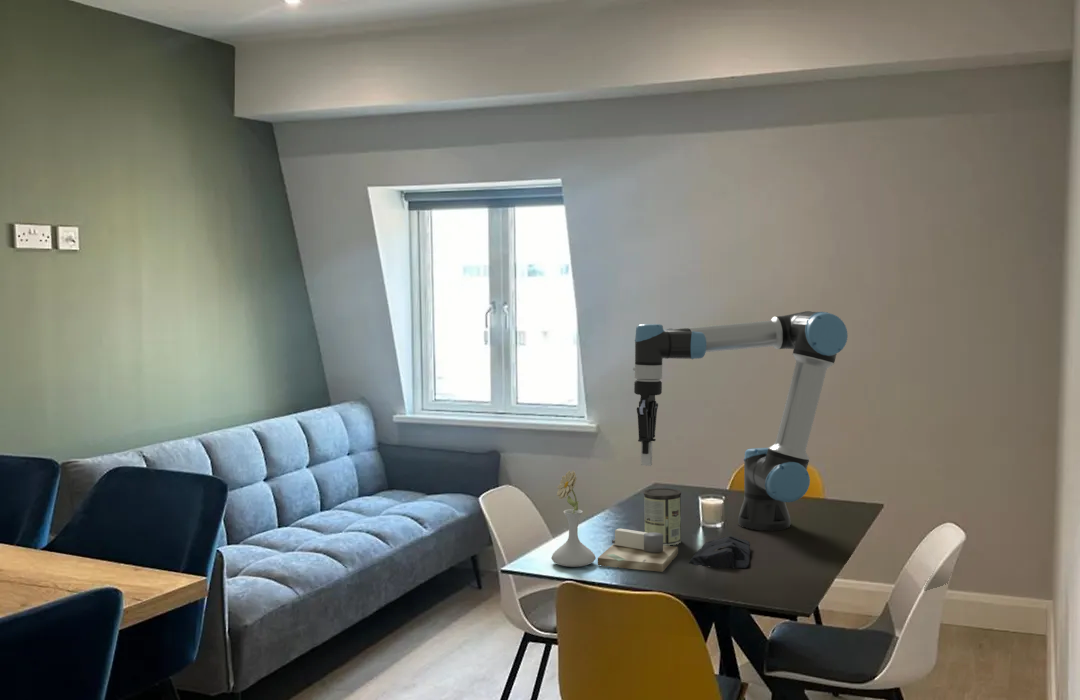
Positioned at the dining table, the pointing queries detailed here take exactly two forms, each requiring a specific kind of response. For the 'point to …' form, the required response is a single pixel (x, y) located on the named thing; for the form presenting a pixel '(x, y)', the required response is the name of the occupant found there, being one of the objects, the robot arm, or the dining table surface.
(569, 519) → the flower in vase
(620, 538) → the peg
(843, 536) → the dining table surface
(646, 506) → the coffee can
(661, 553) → the board
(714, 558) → the dark slate chunk
